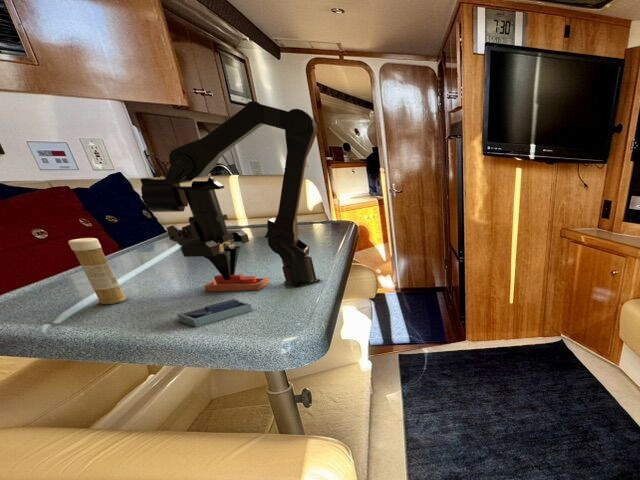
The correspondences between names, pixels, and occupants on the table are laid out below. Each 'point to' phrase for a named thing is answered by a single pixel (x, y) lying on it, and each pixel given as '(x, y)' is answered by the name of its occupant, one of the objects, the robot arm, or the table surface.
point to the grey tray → (214, 315)
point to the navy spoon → (215, 308)
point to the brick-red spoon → (235, 279)
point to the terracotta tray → (237, 286)
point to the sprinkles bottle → (97, 270)
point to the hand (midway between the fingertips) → (229, 278)
